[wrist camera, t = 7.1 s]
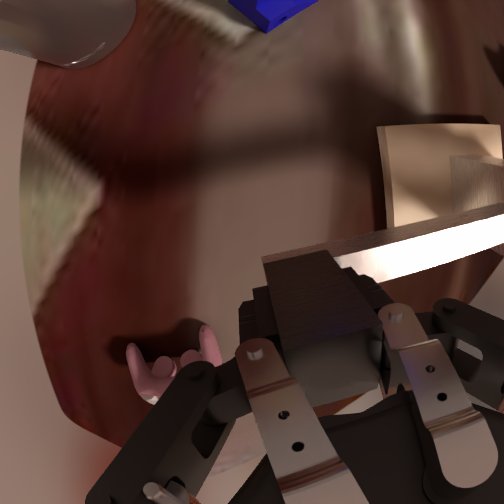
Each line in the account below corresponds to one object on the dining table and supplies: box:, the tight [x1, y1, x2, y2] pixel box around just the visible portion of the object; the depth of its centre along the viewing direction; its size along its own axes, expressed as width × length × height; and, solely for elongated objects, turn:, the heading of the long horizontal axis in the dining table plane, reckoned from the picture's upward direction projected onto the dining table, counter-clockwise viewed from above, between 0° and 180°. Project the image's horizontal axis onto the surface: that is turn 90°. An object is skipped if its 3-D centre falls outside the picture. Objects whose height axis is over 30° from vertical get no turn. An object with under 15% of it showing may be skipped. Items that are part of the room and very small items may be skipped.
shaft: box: [261, 203, 504, 407], centre depth 12 cm, size 3×18×8 cm, turn 102°
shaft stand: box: [376, 123, 504, 256], centre depth 17 cm, size 13×16×14 cm
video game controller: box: [126, 325, 223, 404], centre depth 26 cm, size 10×5×7 cm, turn 107°
